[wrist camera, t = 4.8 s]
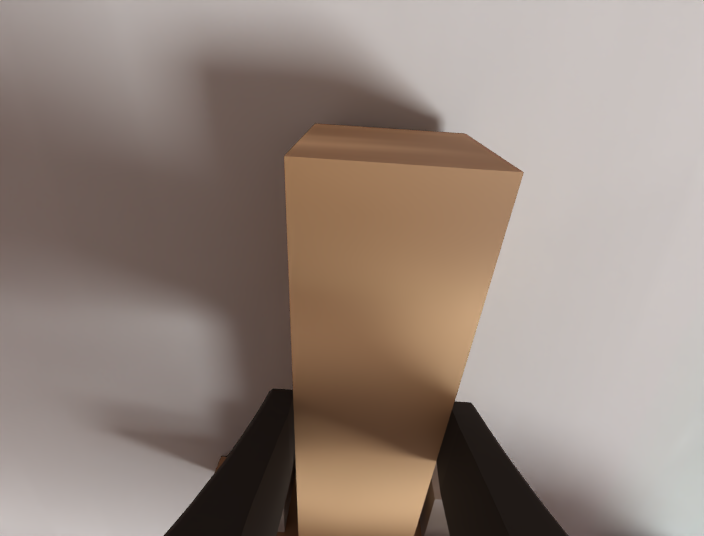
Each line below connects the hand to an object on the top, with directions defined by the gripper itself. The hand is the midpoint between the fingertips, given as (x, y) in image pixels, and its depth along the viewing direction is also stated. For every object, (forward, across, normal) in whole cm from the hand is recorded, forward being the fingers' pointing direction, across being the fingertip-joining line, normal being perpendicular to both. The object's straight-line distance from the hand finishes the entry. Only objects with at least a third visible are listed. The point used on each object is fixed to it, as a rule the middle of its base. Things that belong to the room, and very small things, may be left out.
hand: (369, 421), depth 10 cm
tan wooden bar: (+4, 0, 0) cm, 4 cm away
